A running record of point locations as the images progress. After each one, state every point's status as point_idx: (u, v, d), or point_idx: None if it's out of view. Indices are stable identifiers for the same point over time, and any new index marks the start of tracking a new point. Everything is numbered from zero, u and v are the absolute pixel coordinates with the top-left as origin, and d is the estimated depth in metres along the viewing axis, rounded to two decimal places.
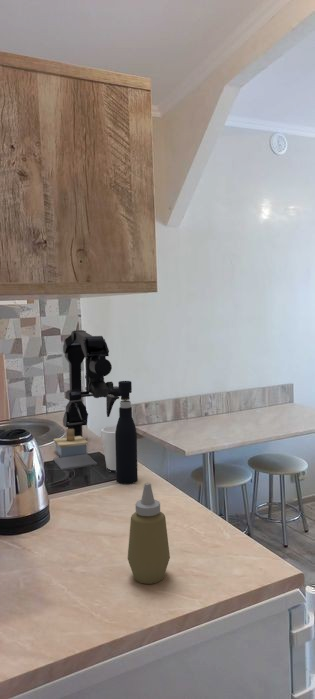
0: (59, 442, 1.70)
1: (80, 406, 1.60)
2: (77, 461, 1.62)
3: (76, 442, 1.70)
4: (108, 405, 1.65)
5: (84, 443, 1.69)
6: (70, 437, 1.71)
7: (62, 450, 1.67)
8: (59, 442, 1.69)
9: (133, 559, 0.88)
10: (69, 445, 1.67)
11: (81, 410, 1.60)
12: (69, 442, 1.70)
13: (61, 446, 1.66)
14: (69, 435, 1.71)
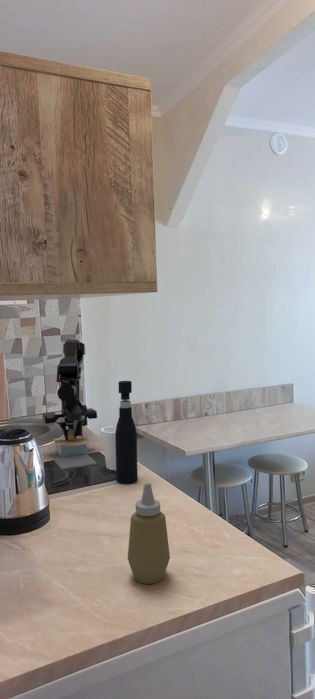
0: (59, 442, 1.70)
1: (64, 427, 1.70)
2: (77, 461, 1.62)
3: (76, 442, 1.70)
4: (75, 427, 1.73)
5: (84, 443, 1.69)
6: (70, 437, 1.71)
7: (62, 450, 1.67)
8: (59, 442, 1.69)
9: (133, 559, 0.88)
10: (69, 445, 1.67)
11: (65, 431, 1.70)
12: (69, 442, 1.70)
13: (61, 446, 1.66)
14: (69, 435, 1.71)
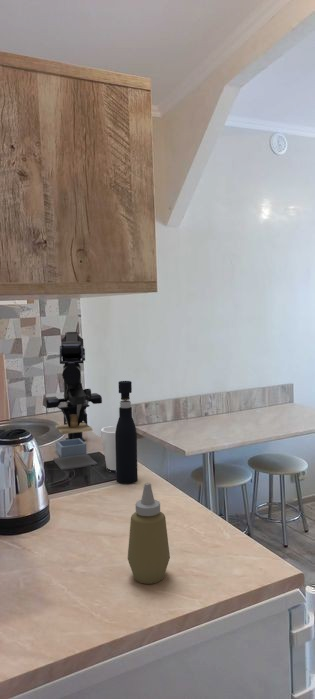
0: (61, 428, 1.59)
1: (67, 412, 1.59)
2: (77, 461, 1.62)
3: (80, 428, 1.58)
4: (78, 413, 1.62)
5: (88, 429, 1.58)
6: (73, 423, 1.60)
7: (62, 450, 1.67)
8: (62, 429, 1.58)
9: (133, 559, 0.88)
10: (72, 431, 1.56)
11: (68, 417, 1.59)
12: (72, 428, 1.59)
13: (64, 432, 1.55)
14: (72, 420, 1.60)
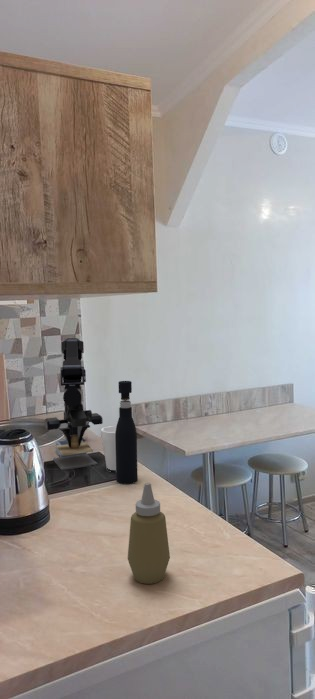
0: (62, 449, 1.59)
1: (67, 434, 1.59)
2: (77, 461, 1.62)
3: (80, 449, 1.59)
4: (79, 434, 1.62)
5: (89, 450, 1.59)
6: (74, 444, 1.60)
7: None
8: (62, 450, 1.59)
9: (133, 559, 0.88)
10: (73, 453, 1.57)
11: (68, 437, 1.60)
12: (73, 449, 1.59)
13: (64, 454, 1.55)
14: (73, 441, 1.60)
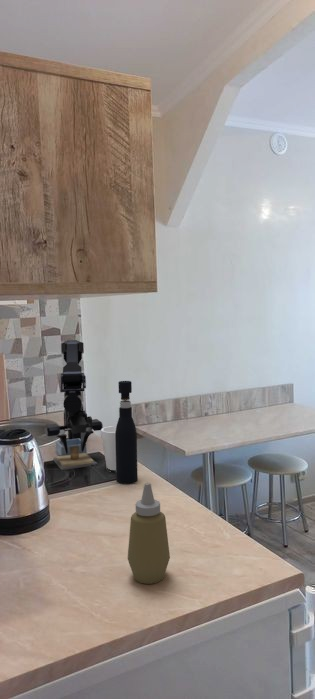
0: (62, 460, 1.60)
1: (64, 440, 1.59)
2: None
3: (81, 460, 1.59)
4: (82, 439, 1.63)
5: (89, 462, 1.59)
6: (74, 455, 1.61)
7: (62, 450, 1.67)
8: (63, 461, 1.59)
9: (133, 559, 0.88)
10: (73, 464, 1.57)
11: (65, 444, 1.59)
12: (73, 460, 1.59)
13: (65, 465, 1.56)
14: (73, 452, 1.61)
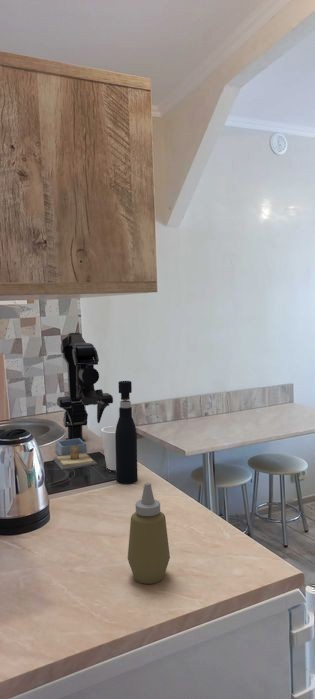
0: (62, 460, 1.60)
1: (71, 413, 1.64)
2: None
3: (81, 460, 1.59)
4: (98, 411, 1.69)
5: (89, 462, 1.59)
6: (74, 455, 1.61)
7: (62, 450, 1.67)
8: (63, 461, 1.59)
9: (133, 559, 0.88)
10: (73, 464, 1.57)
11: (72, 416, 1.65)
12: (73, 460, 1.59)
13: (65, 465, 1.56)
14: (73, 452, 1.61)
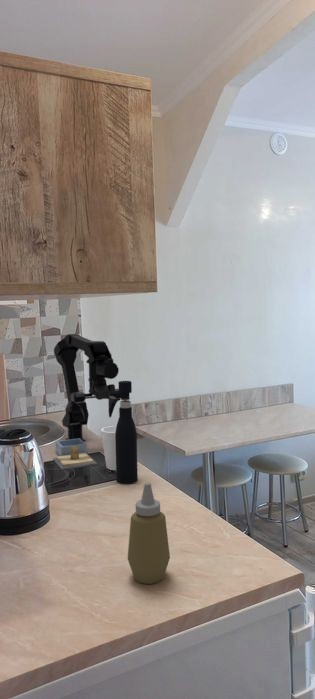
0: (62, 460, 1.60)
1: (84, 407, 1.71)
2: None
3: (81, 460, 1.59)
4: (110, 406, 1.76)
5: (89, 462, 1.59)
6: (74, 455, 1.61)
7: (62, 450, 1.67)
8: (63, 461, 1.59)
9: (133, 559, 0.88)
10: (73, 464, 1.57)
11: (85, 411, 1.71)
12: (73, 460, 1.59)
13: (65, 465, 1.56)
14: (73, 452, 1.61)
